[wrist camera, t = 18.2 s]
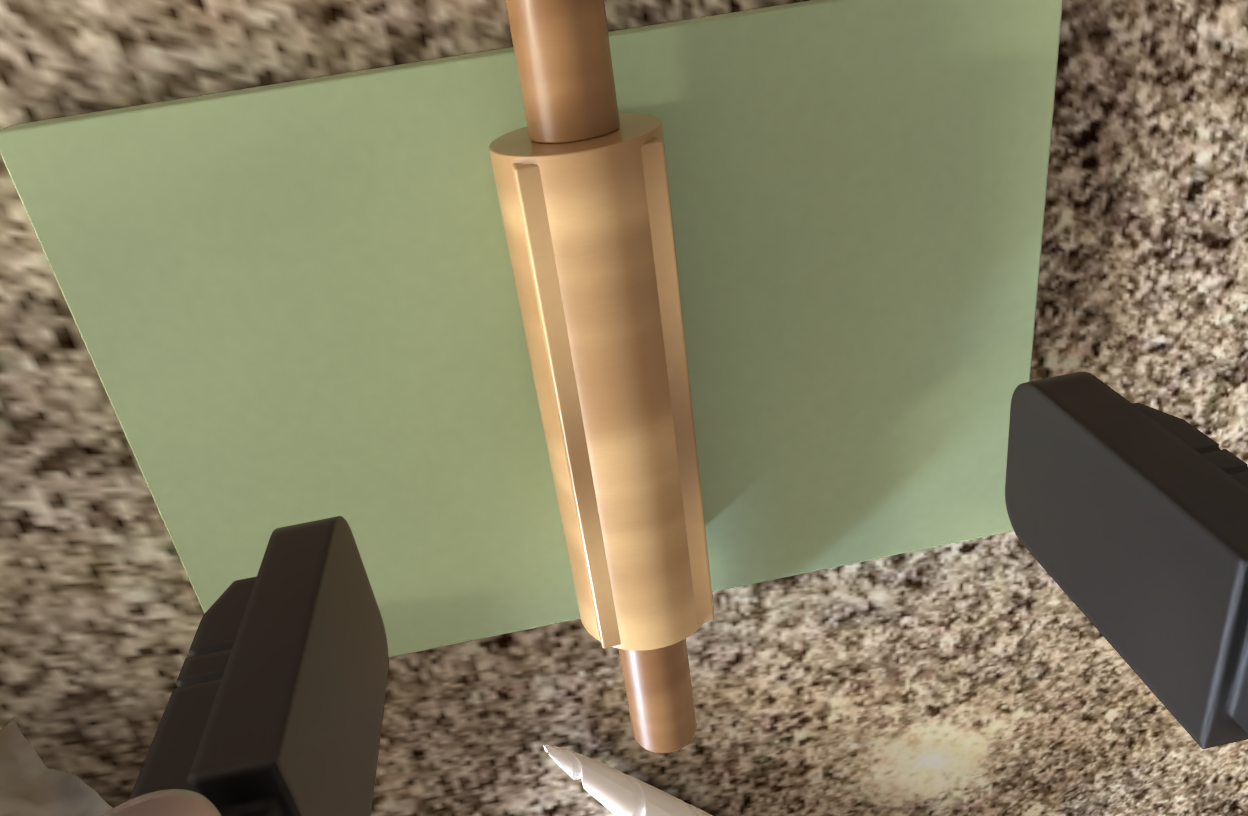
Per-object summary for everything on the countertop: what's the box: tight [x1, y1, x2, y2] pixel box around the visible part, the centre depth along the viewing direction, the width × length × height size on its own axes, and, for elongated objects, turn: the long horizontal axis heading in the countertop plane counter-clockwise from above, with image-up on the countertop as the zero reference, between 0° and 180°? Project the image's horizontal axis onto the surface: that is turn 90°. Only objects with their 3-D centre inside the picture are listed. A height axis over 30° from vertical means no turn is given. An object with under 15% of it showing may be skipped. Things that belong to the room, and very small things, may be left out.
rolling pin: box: [489, 0, 714, 753], centre depth 28 cm, size 28×5×5 cm, turn 7°
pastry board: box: [0, 0, 1063, 657], centre depth 31 cm, size 30×20×1 cm, turn 98°
